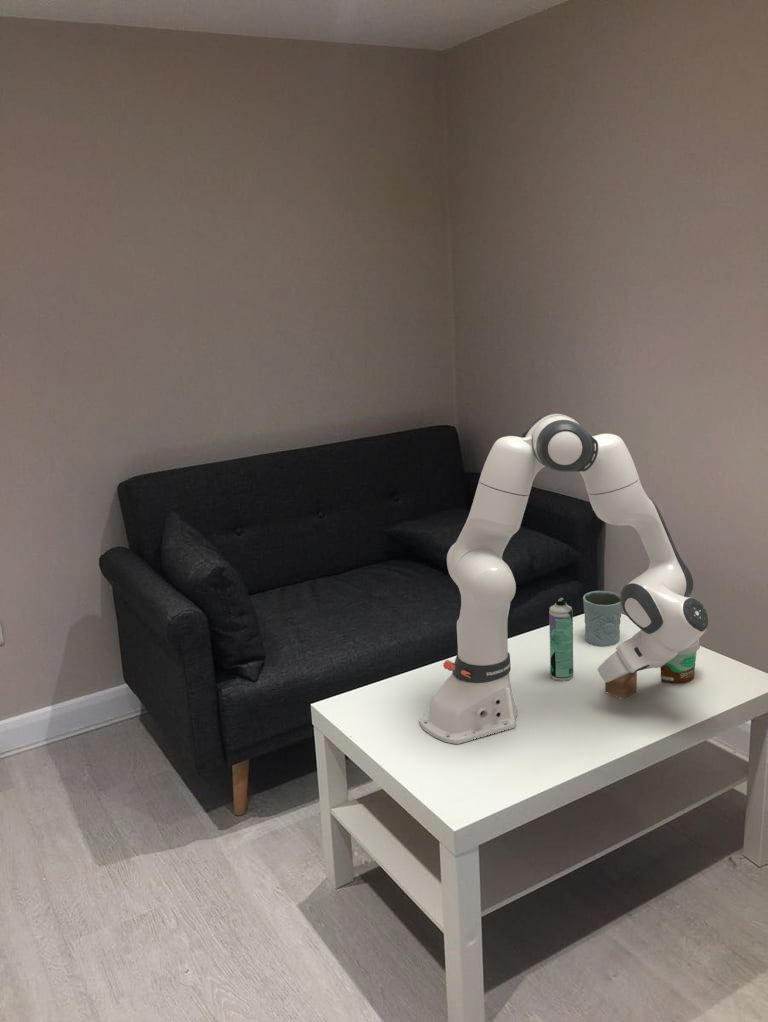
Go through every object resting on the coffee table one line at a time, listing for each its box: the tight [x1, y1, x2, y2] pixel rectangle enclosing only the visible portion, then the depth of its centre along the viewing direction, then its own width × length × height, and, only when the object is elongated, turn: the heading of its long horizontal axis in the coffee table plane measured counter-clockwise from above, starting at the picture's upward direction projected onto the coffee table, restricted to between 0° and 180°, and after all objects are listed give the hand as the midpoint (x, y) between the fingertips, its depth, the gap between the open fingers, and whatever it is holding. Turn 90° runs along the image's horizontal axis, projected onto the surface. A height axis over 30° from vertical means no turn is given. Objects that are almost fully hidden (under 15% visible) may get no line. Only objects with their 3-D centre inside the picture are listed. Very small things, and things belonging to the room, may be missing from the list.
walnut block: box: [604, 671, 638, 700], centre depth 211 cm, size 5×5×8 cm
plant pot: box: [582, 590, 623, 647], centre depth 239 cm, size 10×10×12 cm
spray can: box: [548, 597, 574, 682], centre depth 220 cm, size 6×6×20 cm
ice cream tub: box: [659, 638, 701, 685], centre depth 215 cm, size 12×6×10 cm, turn 131°
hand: (618, 673), depth 212 cm, fingers closed on walnut block, 5 cm apart
